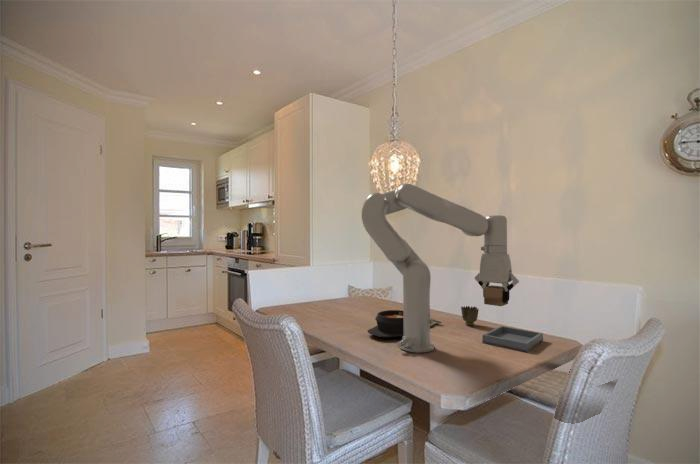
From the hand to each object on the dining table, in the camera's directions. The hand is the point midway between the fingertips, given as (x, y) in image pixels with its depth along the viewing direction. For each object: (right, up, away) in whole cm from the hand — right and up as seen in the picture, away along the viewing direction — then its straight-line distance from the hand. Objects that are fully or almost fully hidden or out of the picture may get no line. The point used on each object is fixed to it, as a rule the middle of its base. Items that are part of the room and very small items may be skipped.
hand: (496, 300), depth 129 cm
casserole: (-33, -18, +21) cm, 43 cm away
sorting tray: (+10, -18, +10) cm, 23 cm away
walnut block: (0, -1, 0) cm, 1 cm away
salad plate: (-21, -18, +39) cm, 48 cm away
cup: (+2, -18, +34) cm, 39 cm away
